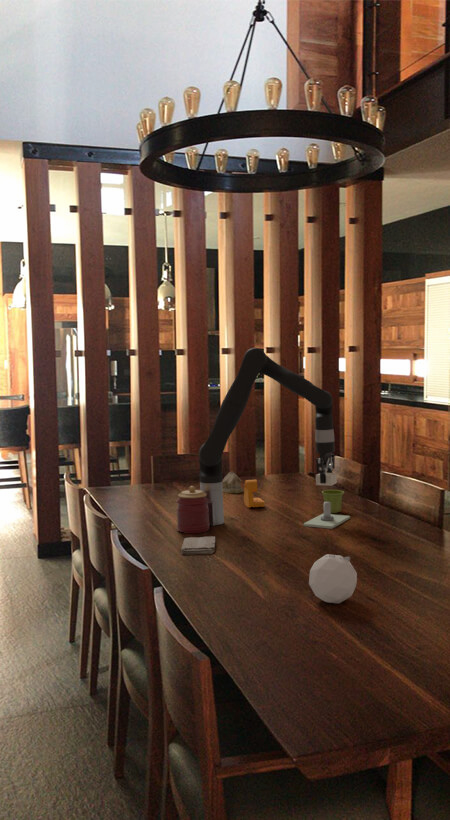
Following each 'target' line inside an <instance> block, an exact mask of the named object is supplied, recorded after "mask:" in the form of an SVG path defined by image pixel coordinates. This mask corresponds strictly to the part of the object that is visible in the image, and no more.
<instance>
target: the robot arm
mask: <svg viewBox="0 0 450 820" xmlns="http://www.w3.org/2000/svg"><path fill="white" fill-rule="evenodd" d="M259 374H262V375H264V376H266V377H268V378H270V379H273V380H274V381H275V382H277V383H279V384H280V385H282V386H284V388H286V389H287V390H290V391H291V392H293V393H294V394H296V395H298V396H299V397H300V398H301V397H302V398H303V399H305V400H306V401H308V402H309V403H310V404H312V405H314V407H315V436H314V437H315V452H316V453H317V454H319V457H318V458H317V457H316V460H315V461H316V463H315V464H316V472H317V474H320V483H326V473H333V471H334V469H335V466H336V463H335V462H336V461H335V460H336V459H335V453H334V452H336V451H335V450H336V449H335V448H336V446H335V432H334V420H333V397H332V394H331V393H330V392H329V391H328V390H324V389H322V388H320V387H318V386H316V385H315V384H313V383H312V382H311V381H310V380H308V379H307V378H304V377H303V376H302V375H299V374H298V373H295V372H293V371H292V370H289V369H288V368H285V367H284V366H283V365H280V364H278V363H277V362H275V361H274V360H273V359H272V358H270V356H268V355H267V354H266V353H265V351H264V350H262V349H261V348H259V347H252V348H249V349H248V350H246V352H245V353H244V355H243V358H242V361H241V365H240V367H239V370H238V372H237V375H236V377H235V379H234V381H232V384H231V386H230V387H229V389H228V391H227V393H226V394H225V396H224V398H223V399H222V400H223V401H222V402H221V405H220V407H219V409H218V412H217V414H216V418H215V420H214V424H213V427H212V430H211V432H210V434H209V435H208V438H207V439H206V441H205V442H204V443H203V444H202V445H201V446H200V447H199V451H198V463H199V486H200V487H199V490H201V491H203V492H204V493H206V494H207V495H206V498H208V499H209V502H208V507H209V523H210V525H211V526H212V527H214V526H219V525H223V524H224V522H225V521H224V520H225V518H224V516H225V515H224V514H225V513H224V492H223V486H224V485H223V479H224V478H223V458H222V457H223V454H224V451H225V448H226V445H227V443H228V440H229V438H230V436H231V435H232V433H233V431H234V430H235V428H236V426H237V424H238V423H239V421H240V419H241V417H242V415H243V413H244V411H245V408H247V404H248V401H249V398H250V396H251V391H252V388H253V386H254V383H255V382H256V379H257V377H258V376H259ZM211 526H210V527H211Z"/></svg>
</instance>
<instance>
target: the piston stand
mask: <svg viewBox="0 0 450 820" xmlns="http://www.w3.org/2000/svg"><path fill="white" fill-rule="evenodd" d="M349 519H351V516H350V515H343V514H335V513H331V507H330V502H323V513H321V514H319V515H317V516H315V517H314V518H312V519H309V520H308V521H305V522H304V523H303V527H308V528H309V527H311V528H318V529H320V528H321V529H329V530H331V529H332V530H333V529H334V528H336V527H337V526H339V525H341V524H343V523H344V522H346V521H348V520H349Z"/></svg>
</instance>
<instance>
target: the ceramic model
mask: <svg viewBox="0 0 450 820" xmlns="http://www.w3.org/2000/svg"><path fill="white" fill-rule="evenodd" d="M241 483H242V480H241V478H240V477H239V476H238V475H237V474H236V473H235V472H234V471H233V470H232V471H230V472H228V473H227V474H226V475H225V476H224V478H223V491H224V492H223V493H225V492H228V493H227V494H229V493H235V494H241V493H244V488H242V486H241Z"/></svg>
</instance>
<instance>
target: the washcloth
mask: <svg viewBox="0 0 450 820" xmlns="http://www.w3.org/2000/svg"><path fill="white" fill-rule="evenodd" d="M215 548H216V536H212V535H210V536H202V537H201V536H200V537H194V536H193V537H185V538H184V539H183V542H182V545H181V548H180V551H181V555H212V554H213V553H214V552H215Z"/></svg>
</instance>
